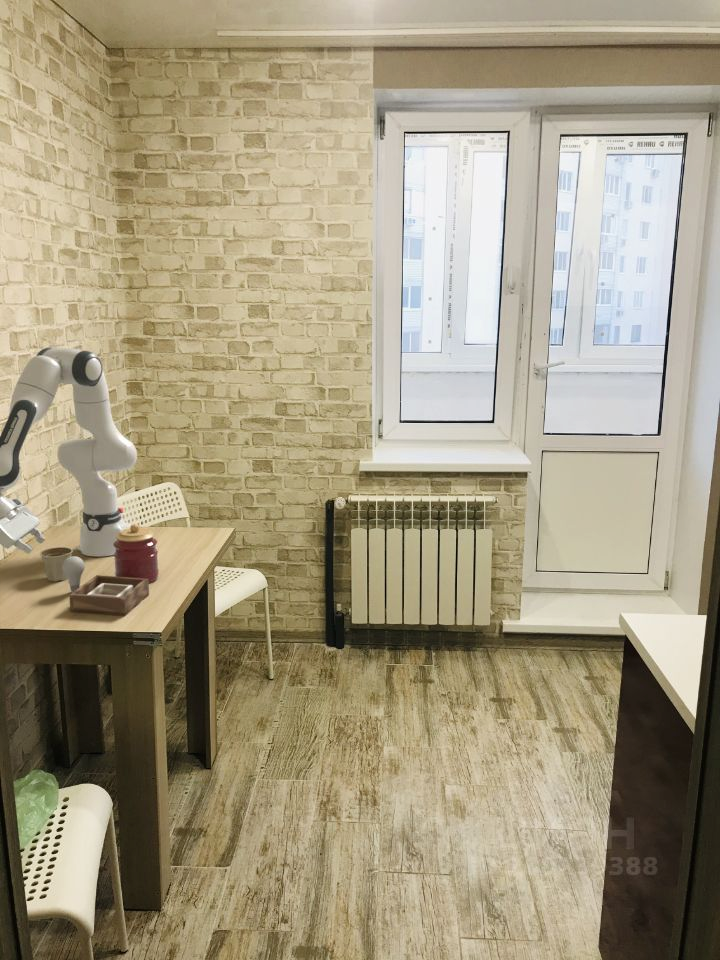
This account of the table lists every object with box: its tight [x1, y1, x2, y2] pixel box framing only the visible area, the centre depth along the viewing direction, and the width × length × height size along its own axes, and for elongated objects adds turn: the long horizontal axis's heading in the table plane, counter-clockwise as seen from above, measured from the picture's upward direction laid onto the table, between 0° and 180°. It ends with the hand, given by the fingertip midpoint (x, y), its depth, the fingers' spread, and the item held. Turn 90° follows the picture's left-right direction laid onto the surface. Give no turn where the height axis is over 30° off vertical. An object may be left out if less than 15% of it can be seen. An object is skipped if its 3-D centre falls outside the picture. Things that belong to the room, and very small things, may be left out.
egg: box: [62, 555, 86, 593], centre depth 229 cm, size 6×6×11 cm
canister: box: [113, 523, 160, 584], centre depth 240 cm, size 13×13×18 cm
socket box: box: [68, 575, 150, 617], centre depth 222 cm, size 16×16×5 cm
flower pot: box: [39, 546, 74, 582], centre depth 241 cm, size 9×9×9 cm
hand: (37, 546), depth 227 cm, fingers open, 8 cm apart
